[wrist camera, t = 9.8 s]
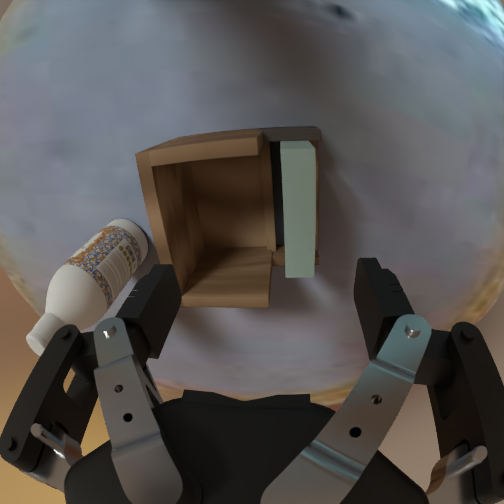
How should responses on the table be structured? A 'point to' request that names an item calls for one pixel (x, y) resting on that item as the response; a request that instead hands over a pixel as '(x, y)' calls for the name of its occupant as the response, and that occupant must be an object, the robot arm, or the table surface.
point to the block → (299, 207)
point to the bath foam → (90, 281)
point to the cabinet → (218, 212)
